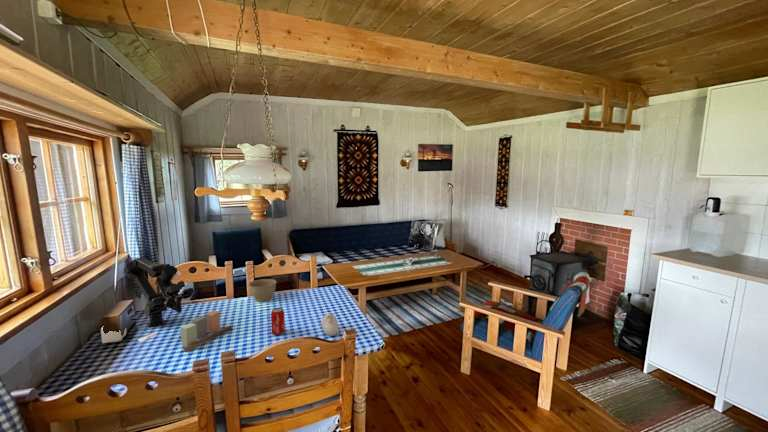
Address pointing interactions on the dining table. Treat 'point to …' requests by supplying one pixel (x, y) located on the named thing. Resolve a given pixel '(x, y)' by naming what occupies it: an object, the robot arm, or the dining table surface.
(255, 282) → the planter bowl
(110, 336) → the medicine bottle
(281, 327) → the soda can
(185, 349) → the key console
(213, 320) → the key terracotta
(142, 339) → the tile
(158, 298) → the robot arm
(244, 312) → the dining table surface
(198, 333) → the key grey
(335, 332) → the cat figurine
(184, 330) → the key sage
